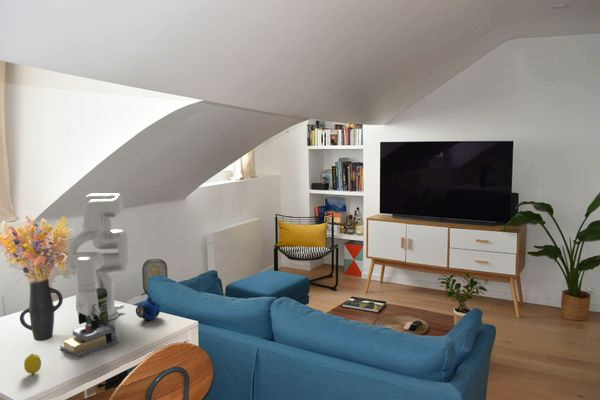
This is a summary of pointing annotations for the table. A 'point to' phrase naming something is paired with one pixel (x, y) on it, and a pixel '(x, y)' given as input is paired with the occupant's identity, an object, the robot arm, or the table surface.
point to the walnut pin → (88, 328)
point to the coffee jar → (101, 306)
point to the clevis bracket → (90, 340)
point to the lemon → (32, 364)
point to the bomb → (148, 309)
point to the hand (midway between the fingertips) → (88, 325)
